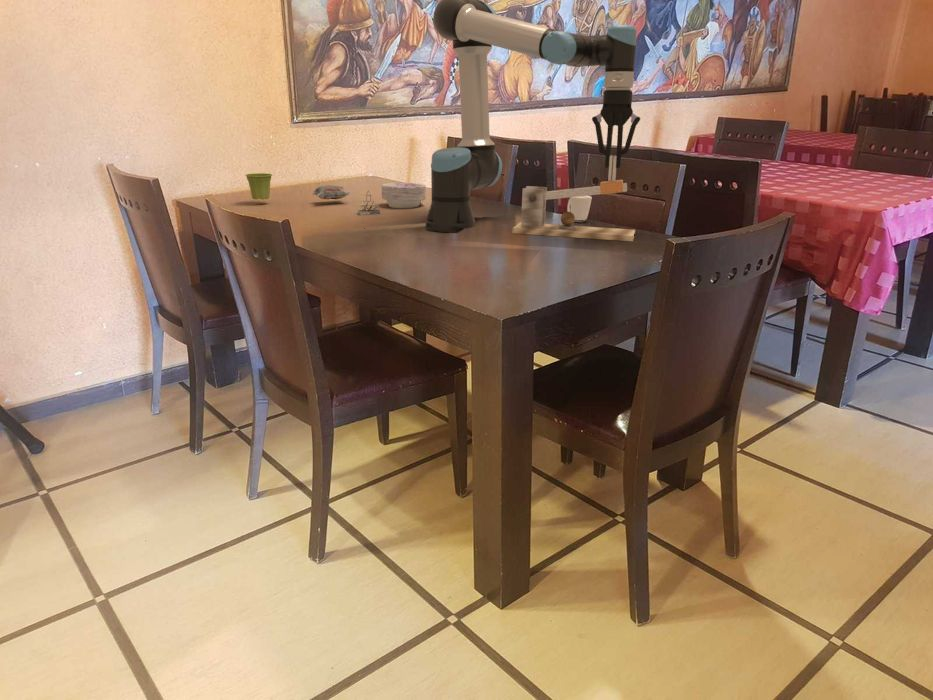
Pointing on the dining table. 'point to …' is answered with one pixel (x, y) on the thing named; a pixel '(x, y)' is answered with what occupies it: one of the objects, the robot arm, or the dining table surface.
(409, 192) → the paper bowls
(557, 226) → the press base
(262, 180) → the plant pot
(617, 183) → the lever
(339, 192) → the packaged food
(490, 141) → the robot arm
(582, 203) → the cup
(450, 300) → the dining table surface
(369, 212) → the house of cards
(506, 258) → the dining table surface
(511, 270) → the dining table surface
